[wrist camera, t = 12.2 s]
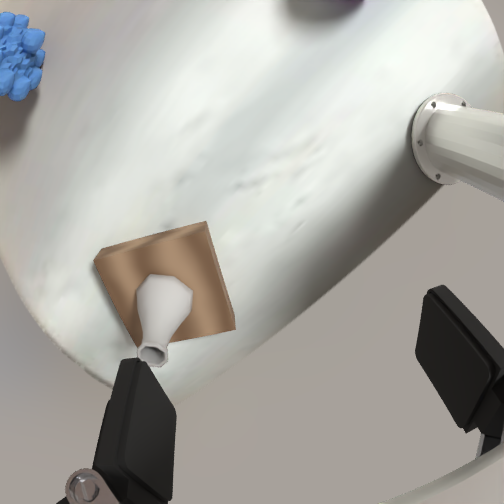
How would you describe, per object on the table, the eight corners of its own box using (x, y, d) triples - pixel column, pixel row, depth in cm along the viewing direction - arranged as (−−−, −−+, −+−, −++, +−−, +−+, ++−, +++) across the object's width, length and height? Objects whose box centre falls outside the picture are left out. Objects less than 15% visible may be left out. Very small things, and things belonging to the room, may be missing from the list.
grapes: (79, 82, 28) (23, 79, 18) (34, 107, 28) (-27, 117, 18) (61, 3, 23) (9, -22, 12) (18, 30, 23) (-41, 19, 12)
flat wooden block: (206, 218, 38) (205, 231, 34) (234, 311, 44) (235, 329, 41) (103, 246, 38) (93, 260, 35) (142, 330, 44) (137, 348, 41)
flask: (181, 329, 40) (175, 388, 31) (129, 309, 38) (110, 366, 29) (203, 286, 37) (200, 343, 28) (145, 263, 35) (125, 316, 26)
